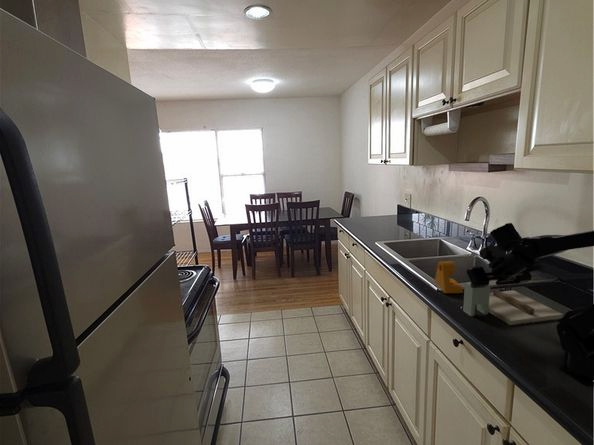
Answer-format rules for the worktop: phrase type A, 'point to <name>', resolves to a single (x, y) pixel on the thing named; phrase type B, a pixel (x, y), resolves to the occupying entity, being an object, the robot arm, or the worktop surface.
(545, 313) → the cleat board
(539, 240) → the robot arm
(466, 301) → the grey-green notched block
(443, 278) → the bracket
